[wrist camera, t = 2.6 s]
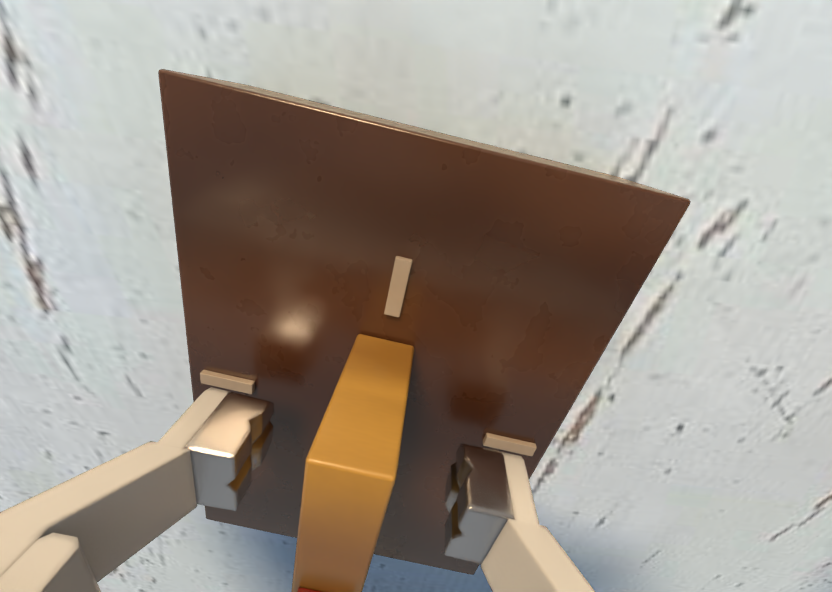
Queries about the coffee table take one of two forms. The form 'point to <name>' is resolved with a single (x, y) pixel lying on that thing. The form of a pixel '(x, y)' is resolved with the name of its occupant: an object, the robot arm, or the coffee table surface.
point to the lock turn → (352, 468)
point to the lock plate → (393, 283)
